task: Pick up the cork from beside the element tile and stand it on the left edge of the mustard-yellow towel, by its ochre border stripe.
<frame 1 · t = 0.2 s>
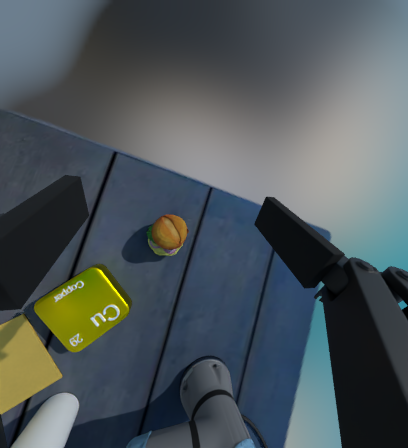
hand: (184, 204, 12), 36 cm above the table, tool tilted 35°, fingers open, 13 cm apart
element tile: (92, 300, 42), on the table
cheeseburger: (166, 234, 47), on the table
candle holder: (60, 409, 39), on the table
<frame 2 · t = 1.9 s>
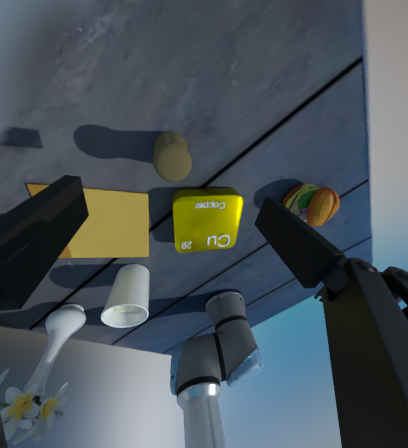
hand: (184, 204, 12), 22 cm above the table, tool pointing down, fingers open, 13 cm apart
element tile: (204, 216, 40), on the table
cheeseburger: (297, 198, 42), on the table
candle holder: (134, 273, 46), on the table
towel: (101, 226, 36), on the table
flower vase: (69, 308, 49), on the table
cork: (170, 149, 30), on the table
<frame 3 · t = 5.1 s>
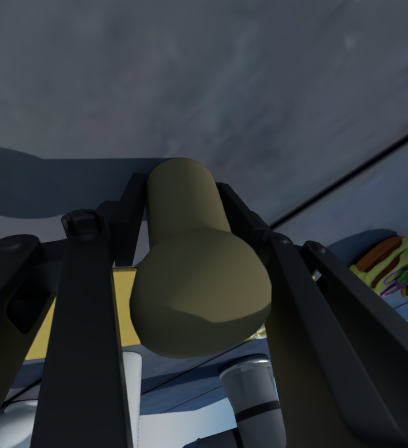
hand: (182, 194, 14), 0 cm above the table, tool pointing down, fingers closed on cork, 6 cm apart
cheeseburger: (378, 253, 26), on the table
candle holder: (118, 359, 30), on the table
towel: (51, 319, 20), on the table
flower vase: (22, 403, 33), on the table
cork: (181, 193, 14), on the table, touching gripper
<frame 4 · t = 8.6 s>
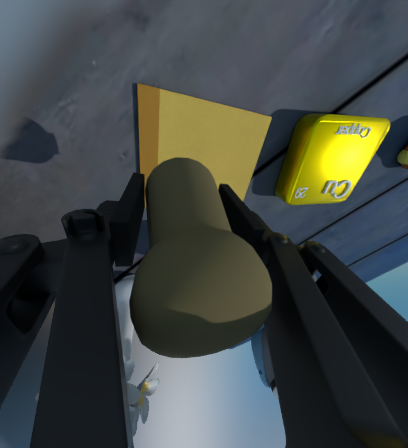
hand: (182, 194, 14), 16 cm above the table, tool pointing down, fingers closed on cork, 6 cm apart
element tile: (315, 160, 32), on the table
towel: (201, 165, 28), on the table
flower vase: (131, 280, 42), on the table
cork: (182, 193, 14), point 15 cm above the table, touching gripper
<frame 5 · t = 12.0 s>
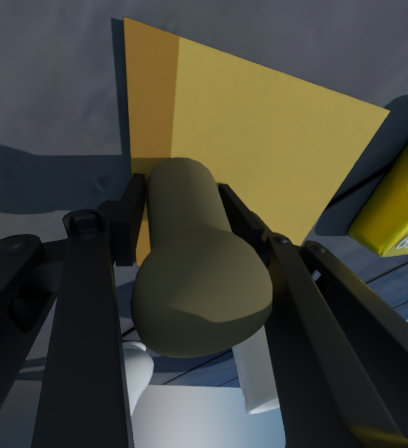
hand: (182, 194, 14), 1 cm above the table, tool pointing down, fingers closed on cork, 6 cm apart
candle holder: (245, 290, 26), on the table
towel: (243, 197, 16), on the table
flower vase: (123, 347, 29), on the table
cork: (182, 193, 14), resting on towel, touching gripper
when the fingers open (1 cm above the table, at t = 12.3 s): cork stays where it is, resting on towel.
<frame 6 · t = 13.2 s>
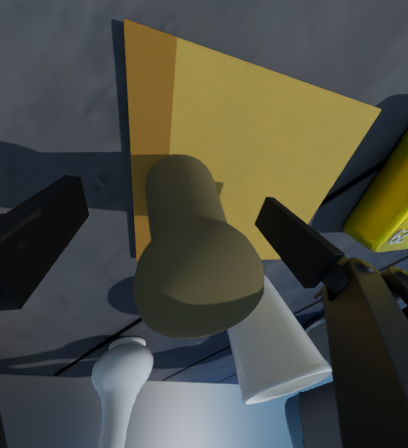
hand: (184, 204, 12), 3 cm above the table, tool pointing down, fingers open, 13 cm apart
candle holder: (242, 286, 27), on the table
towel: (240, 193, 16), on the table
flower vase: (123, 342, 30), on the table
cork: (180, 189, 14), resting on towel
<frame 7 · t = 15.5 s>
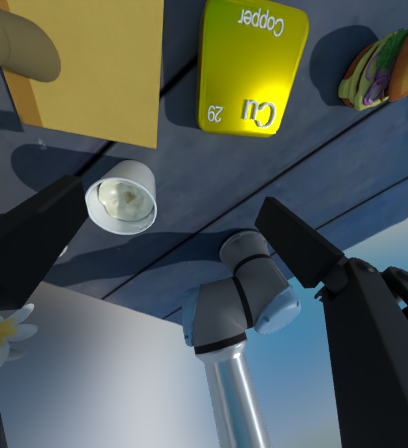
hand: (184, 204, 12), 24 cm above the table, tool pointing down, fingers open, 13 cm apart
element tile: (239, 82, 28), on the table
cheeseburger: (363, 75, 31), on the table
candle holder: (134, 179, 34), on the table
towel: (87, 67, 23), on the table
flower vase: (45, 231, 37), on the table
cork: (33, 52, 21), resting on towel
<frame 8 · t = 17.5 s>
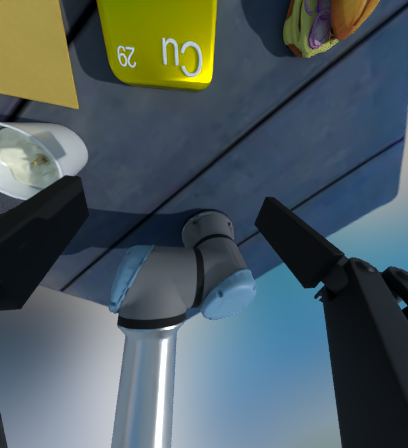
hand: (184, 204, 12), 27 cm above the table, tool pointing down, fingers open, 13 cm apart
element tile: (160, 25, 24), on the table
cheeseburger: (311, 16, 27), on the table
candle holder: (63, 148, 30), on the table
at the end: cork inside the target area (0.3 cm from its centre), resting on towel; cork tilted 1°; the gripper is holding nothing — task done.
